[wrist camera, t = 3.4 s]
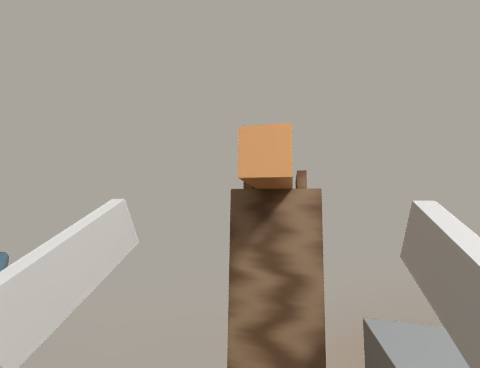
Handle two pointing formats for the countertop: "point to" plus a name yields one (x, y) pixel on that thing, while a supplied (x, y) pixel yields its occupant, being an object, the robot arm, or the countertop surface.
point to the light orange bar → (266, 156)
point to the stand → (276, 278)
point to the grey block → (409, 346)
